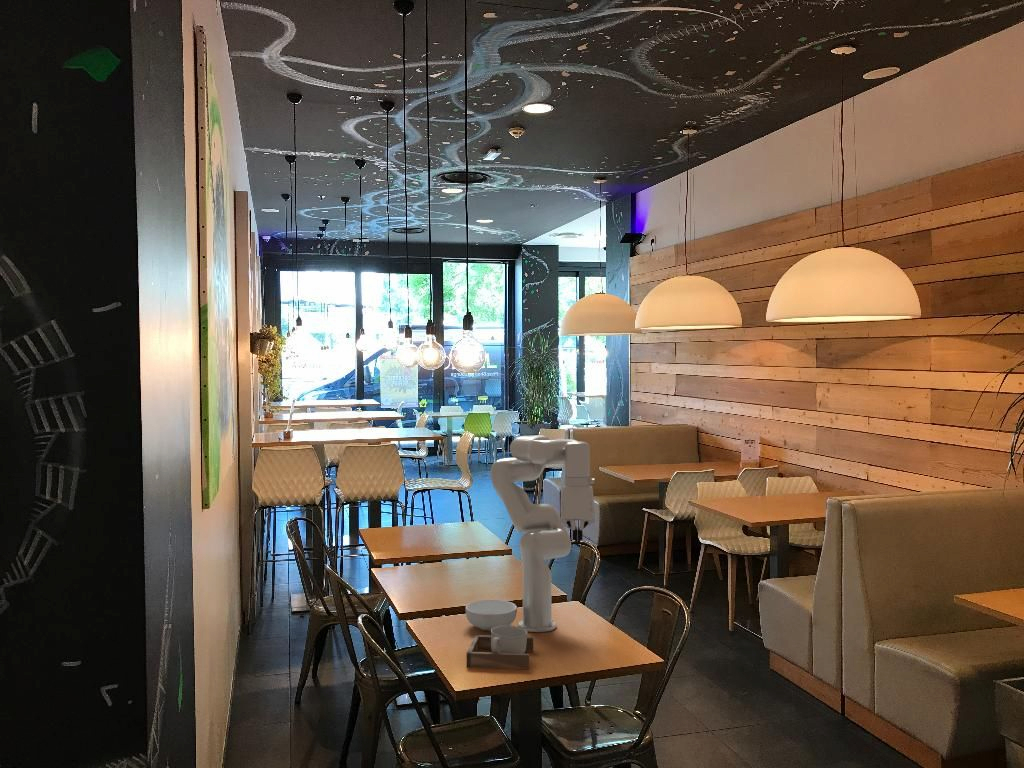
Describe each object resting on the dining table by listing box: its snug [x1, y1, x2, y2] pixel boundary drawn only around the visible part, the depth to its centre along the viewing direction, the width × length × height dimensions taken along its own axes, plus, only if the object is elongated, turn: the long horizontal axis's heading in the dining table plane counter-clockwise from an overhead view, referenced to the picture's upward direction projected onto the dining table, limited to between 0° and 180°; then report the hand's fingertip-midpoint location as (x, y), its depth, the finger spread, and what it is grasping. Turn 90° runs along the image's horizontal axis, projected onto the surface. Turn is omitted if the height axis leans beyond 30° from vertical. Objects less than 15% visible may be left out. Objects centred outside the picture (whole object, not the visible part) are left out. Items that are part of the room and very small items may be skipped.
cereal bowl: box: [465, 599, 518, 631], centre depth 271 cm, size 17×17×7 cm
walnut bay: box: [466, 634, 534, 670], centre depth 241 cm, size 16×18×4 cm
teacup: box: [490, 625, 529, 654], centre depth 241 cm, size 14×11×8 cm
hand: (577, 542), depth 249 cm, fingers closed
